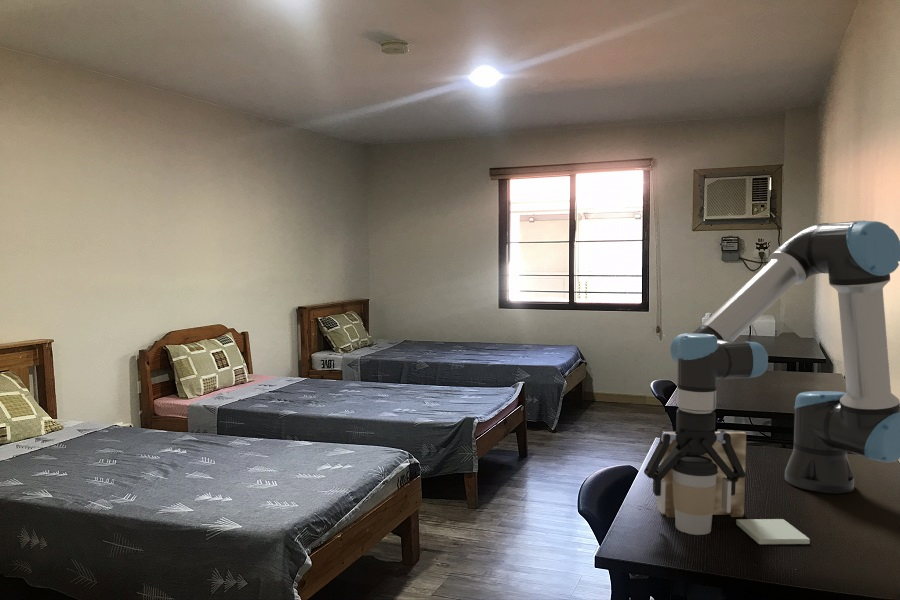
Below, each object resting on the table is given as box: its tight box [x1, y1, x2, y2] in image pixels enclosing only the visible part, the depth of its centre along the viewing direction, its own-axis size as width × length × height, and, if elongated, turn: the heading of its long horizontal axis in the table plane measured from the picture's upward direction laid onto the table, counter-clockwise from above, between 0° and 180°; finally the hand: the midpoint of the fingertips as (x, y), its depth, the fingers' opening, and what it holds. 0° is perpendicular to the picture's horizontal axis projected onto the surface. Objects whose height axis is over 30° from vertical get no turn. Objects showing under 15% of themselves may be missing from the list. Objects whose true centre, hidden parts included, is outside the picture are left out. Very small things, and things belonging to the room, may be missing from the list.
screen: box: [659, 431, 747, 518], centre depth 146 cm, size 18×4×18 cm, turn 91°
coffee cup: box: [672, 454, 718, 536], centre depth 138 cm, size 9×9×15 cm
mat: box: [735, 518, 811, 545], centre depth 136 cm, size 10×10×1 cm
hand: (693, 510), depth 139 cm, fingers open, 13 cm apart
